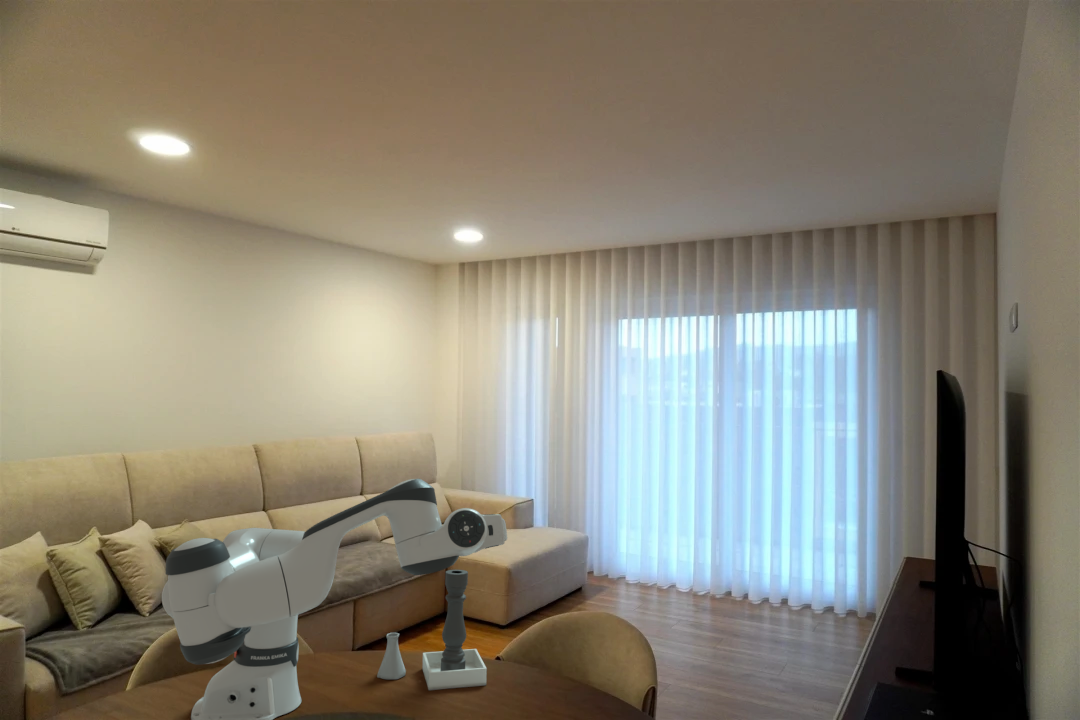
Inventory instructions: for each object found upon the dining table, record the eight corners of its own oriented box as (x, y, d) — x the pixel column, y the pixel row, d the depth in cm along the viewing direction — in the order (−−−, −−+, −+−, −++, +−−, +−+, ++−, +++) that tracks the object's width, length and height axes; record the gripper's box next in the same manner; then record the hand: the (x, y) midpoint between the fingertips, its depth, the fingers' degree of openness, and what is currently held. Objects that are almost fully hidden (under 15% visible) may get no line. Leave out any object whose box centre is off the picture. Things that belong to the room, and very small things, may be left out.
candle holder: (437, 670, 178) (442, 570, 180) (461, 667, 180) (465, 568, 182) (443, 679, 172) (448, 575, 174) (467, 676, 174) (471, 574, 176)
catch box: (428, 690, 167) (429, 673, 167) (422, 668, 180) (422, 652, 181) (486, 685, 171) (486, 668, 171) (475, 664, 184) (476, 648, 184)
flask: (399, 682, 172) (400, 640, 172) (371, 679, 173) (373, 637, 174) (410, 671, 179) (411, 631, 179) (384, 668, 180) (385, 628, 181)
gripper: (413, 556, 144) (415, 559, 157) (511, 543, 147) (505, 546, 160) (411, 525, 146) (412, 530, 159) (508, 513, 149) (502, 518, 162)
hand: (460, 538), depth 160 cm, fingers open, 8 cm apart
